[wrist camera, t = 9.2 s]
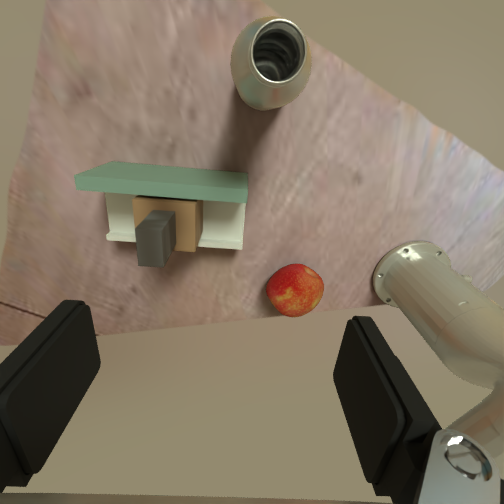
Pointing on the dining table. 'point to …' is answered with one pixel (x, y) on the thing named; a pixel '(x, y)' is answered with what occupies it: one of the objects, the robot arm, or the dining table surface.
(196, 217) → the tan grey tall block
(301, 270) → the apple
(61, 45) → the dining table surface
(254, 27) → the plastic bottle
